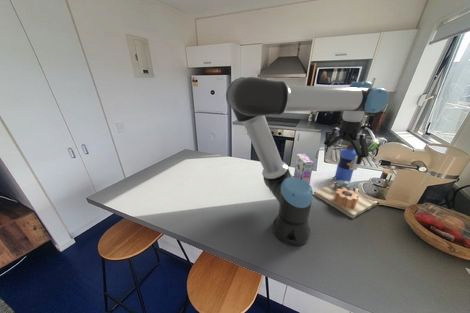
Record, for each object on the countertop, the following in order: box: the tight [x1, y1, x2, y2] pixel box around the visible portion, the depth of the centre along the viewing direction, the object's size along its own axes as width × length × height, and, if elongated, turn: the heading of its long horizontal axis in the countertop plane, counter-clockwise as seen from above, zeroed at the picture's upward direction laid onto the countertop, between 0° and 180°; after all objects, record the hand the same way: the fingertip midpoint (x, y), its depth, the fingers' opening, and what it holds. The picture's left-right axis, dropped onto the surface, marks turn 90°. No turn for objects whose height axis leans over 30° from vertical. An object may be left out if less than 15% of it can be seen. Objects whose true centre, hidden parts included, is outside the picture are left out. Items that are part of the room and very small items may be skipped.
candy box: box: [293, 153, 314, 185], centre depth 110 cm, size 14×6×16 cm, turn 179°
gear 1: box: [334, 180, 357, 192], centre depth 99 cm, size 10×10×5 cm
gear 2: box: [334, 188, 359, 208], centre depth 89 cm, size 10×10×5 cm
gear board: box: [313, 182, 378, 219], centre depth 95 cm, size 24×22×8 cm
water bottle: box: [334, 142, 357, 183], centre depth 111 cm, size 9×9×25 cm
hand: (340, 163), depth 85 cm, fingers open, 13 cm apart
